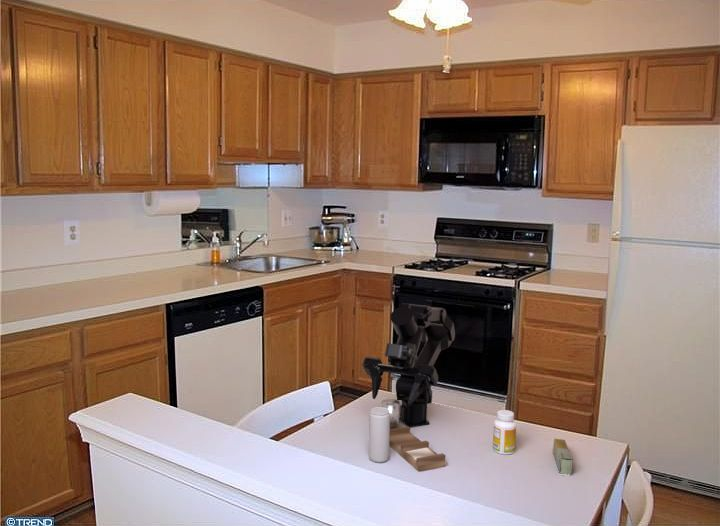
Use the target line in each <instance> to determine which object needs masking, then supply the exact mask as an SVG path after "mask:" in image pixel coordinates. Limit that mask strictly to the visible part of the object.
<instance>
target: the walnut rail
mask: <svg viewBox="0 0 720 526" xmlns="http://www.w3.org/2000/svg"><path fill="white" fill-rule="evenodd" d="M429 446H430V442H429V441H428V440H423V441H422V440H420V439H419V437H416V436H415V435H414V434H413V433H412V432H411V427H408V426H403V425H401V424H400V423H399V428H395V429H390V439H389V448H391V449H392V450H393V451H395V453H397V454H398V455H399V456H400V457H402V459H404V460H405V461H406V462H407V463H408V464H409V465H410V466H411V467H413V468H414V469H415V470H416V471H417V472H418V473H420V472H426V471H430V470H435V469H440V468H444V467H445V468H446V454H445V453H443V452H441V453H437V452H436V451H434V450H433V449H432V448H430V447H429Z"/></svg>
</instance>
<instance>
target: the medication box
mask: <svg viewBox="0 0 720 526" xmlns="http://www.w3.org/2000/svg"><path fill="white" fill-rule="evenodd" d="M552 455H553V458H554V461H555V465H556V468H558V469H557V471H559V472H558V474H559V473H560V474H567V475H568V474H569V475H571V476H572V470H573V458H572V455H571V452H570V449H569V447H568V445H567V442H566V439H563V438H562V439H561V438H554V439H553V446H552Z"/></svg>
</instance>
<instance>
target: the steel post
mask: <svg viewBox="0 0 720 526" xmlns="http://www.w3.org/2000/svg"><path fill="white" fill-rule="evenodd" d="M400 403H401V402H400V400H397V399H394V398H388V399H384V400H382V401H381V407H383V408H387V409H389V411H390V412H389V413H390V429H395V428H399V424H400V420H399V417H400V406H401V405H400Z"/></svg>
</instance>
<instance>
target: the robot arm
mask: <svg viewBox="0 0 720 526" xmlns="http://www.w3.org/2000/svg"><path fill="white" fill-rule="evenodd" d="M390 321H391V323H392V326H393V327H394V330H395V332H396V334H397V335H398V338H397V342H395V343H389V342H388V343H386V347H385V352H384V357H387V362H388V363H390V364H387V363H383V362H382V360H381V358H380V357H373V356H366V357H365V358H364V359H363V361H362V363H361V366H362V368H363V369H364V371H365V373H366V375H367V376H369V377H370V379H371V394H372V395H371V396H372V399H373V400H376V398H377V396H378V393H379V390H380V388H381V385H382V382H383V377H382V376H383V374H384V373H389V374H396V375H399V377H398V378H396V379H397V380H396V382H395V394H396V400H398V401H401V405H400V410H399V422H401V423H402V424H404V425H405V427H407V426H408V427H410V428H413V427H420V426H425V425H429V424H430V421H429V420H428V419H427V418H428V417H427V416H428V415H427V412H428V404H432V402H433V389H432V386H433V387H436V386H437V385H438V382H439V375H438V372H437V369H436V368H435V364H436V362H437V361H436V360H437V359H438V357H439V355H440V353H441V351H443V350H445V349H448V348H449V347H450V346H451V344H452V343H453V342H454V341H455V338H456V330H455V324H454V322H453V320H451V318H450V317H449V316H448V315H447V311H446V309H445V308H443V307H435V306H430V305H425V304H424V305H421V304H415V303H403V302H402V303H401V306H398V307H397V308H395V309H393V311H392V312H391V314H390ZM433 322H435V323H433ZM436 322H438V323H436ZM439 322H441V323H439ZM421 328H423V332H424V337H425V343H424V346H423V348H422V350H420V352H419V348H420V345H421V342H422V341H423V332H422V330H421ZM418 353H419V355H418Z"/></svg>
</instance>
